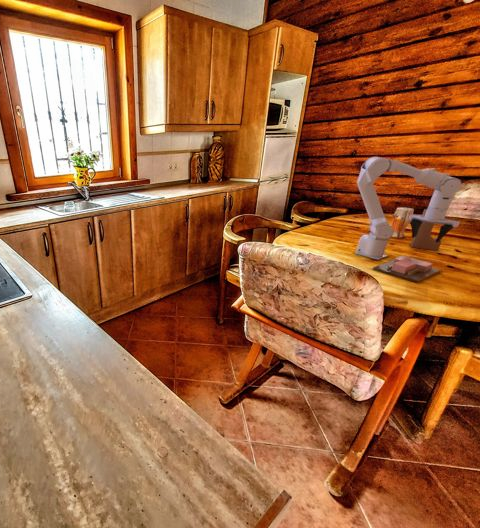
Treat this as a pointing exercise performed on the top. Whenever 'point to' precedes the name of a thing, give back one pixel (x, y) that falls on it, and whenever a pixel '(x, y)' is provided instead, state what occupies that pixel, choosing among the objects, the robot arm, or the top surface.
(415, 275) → the board
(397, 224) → the beer glass
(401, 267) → the loose pad
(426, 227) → the wooden block
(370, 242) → the robot arm
